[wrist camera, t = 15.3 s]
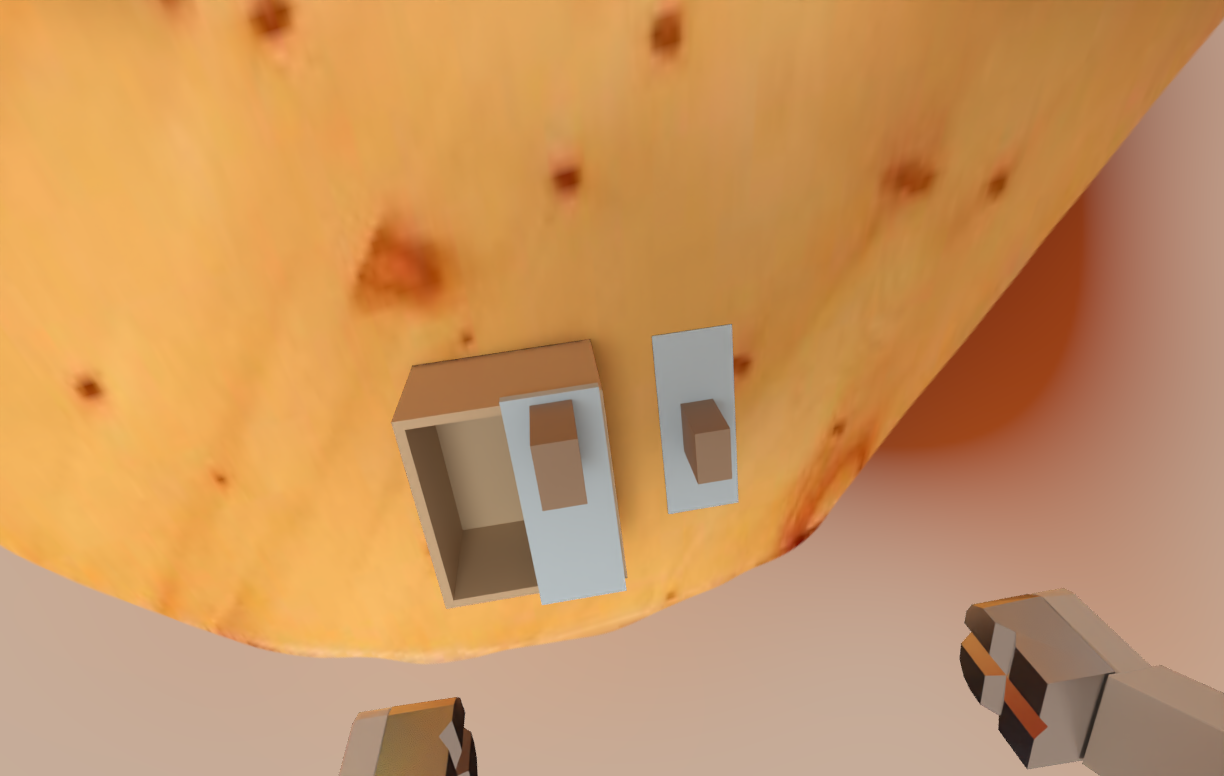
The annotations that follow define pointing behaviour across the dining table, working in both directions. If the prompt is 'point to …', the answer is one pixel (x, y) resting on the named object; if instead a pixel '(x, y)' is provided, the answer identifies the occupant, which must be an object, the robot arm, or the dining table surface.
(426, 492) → the open cardboard box
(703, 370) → the lid
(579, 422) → the lid
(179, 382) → the dining table surface
